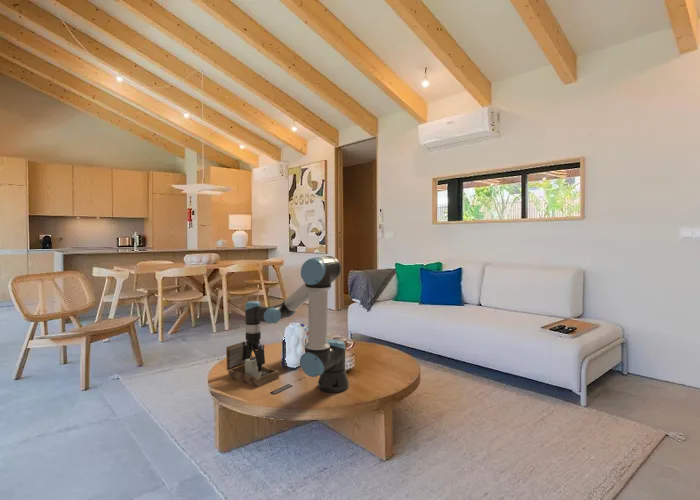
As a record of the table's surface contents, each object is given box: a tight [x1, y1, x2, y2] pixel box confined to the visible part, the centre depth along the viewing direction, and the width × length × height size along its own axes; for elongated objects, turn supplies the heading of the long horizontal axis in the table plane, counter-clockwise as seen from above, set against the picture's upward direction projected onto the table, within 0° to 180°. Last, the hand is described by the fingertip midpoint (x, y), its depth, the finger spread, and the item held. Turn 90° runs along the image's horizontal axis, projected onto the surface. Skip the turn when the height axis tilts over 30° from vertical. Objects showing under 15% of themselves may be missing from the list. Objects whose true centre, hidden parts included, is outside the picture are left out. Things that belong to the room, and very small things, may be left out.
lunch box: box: [281, 323, 308, 369], centre depth 239 cm, size 28×10×22 cm, turn 168°
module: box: [244, 356, 262, 377], centre depth 213 cm, size 5×7×11 cm
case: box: [225, 341, 280, 388], centre depth 214 cm, size 23×14×17 cm, turn 56°
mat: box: [269, 383, 293, 395], centre depth 203 cm, size 10×12×1 cm
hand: (253, 375), depth 213 cm, fingers open, 7 cm apart
